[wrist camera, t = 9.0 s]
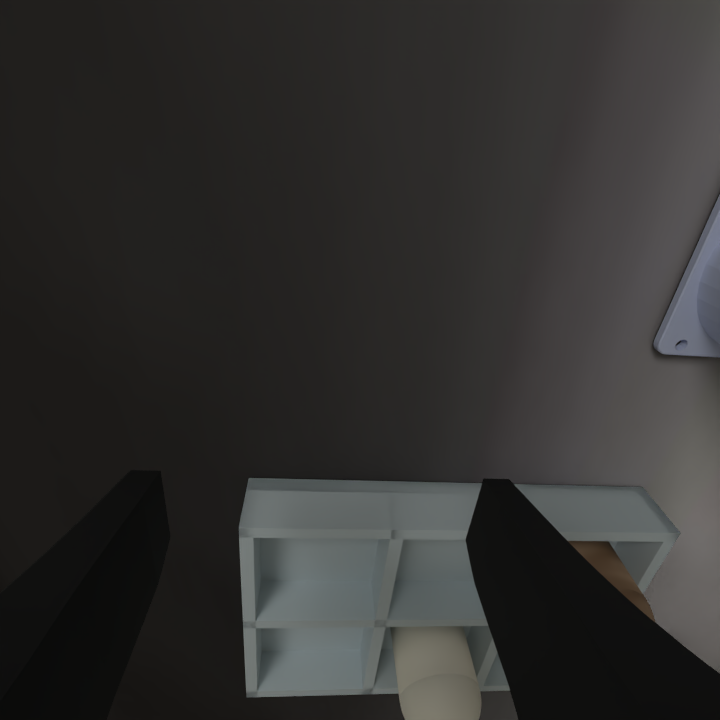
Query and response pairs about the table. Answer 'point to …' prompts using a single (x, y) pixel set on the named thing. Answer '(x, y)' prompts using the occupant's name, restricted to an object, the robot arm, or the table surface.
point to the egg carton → (394, 572)
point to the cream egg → (435, 673)
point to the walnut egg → (613, 571)
